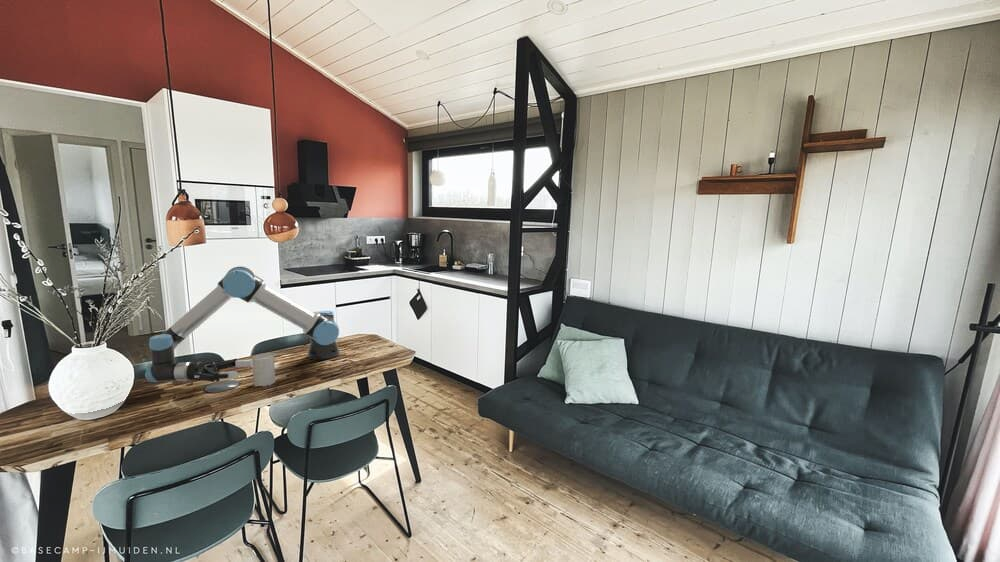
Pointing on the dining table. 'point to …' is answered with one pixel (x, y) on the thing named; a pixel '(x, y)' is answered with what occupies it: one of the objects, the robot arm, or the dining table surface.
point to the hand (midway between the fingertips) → (244, 368)
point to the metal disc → (222, 386)
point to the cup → (263, 369)
